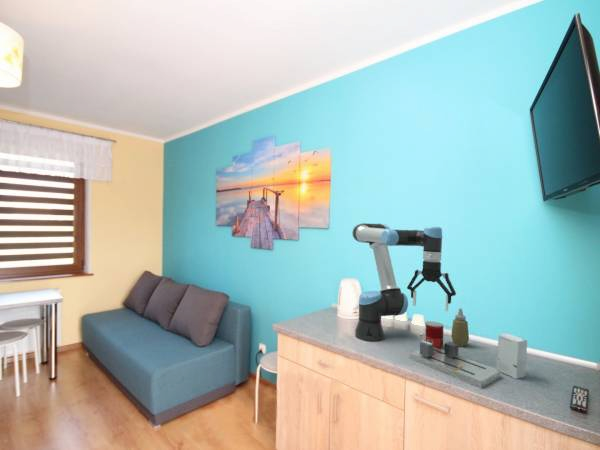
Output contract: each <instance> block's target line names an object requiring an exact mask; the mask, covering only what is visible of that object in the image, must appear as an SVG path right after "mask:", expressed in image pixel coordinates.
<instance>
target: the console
mask: <svg viewBox="0 0 600 450" xmlns="http://www.w3.org/2000/svg"><path fill="white" fill-rule="evenodd" d="M443 346H444V350H443V349H442V348H436V347H434V355H433V356H431V357H426V356H423V355H421V354H420V348H419V349H417V350H414V351H411V352H409V359H411V360H412V361H415V362H417V363H419V364H422V365H424V366H427V367H429V368H431V369H434V370H437V371H439V372H440V373H443V374H446V375H448V376H451V377H453V378H456V379H458V380H460V381H462V380H463V382H465V383H467V382H468V383H467V384H470V385H472V386H475V387H477V388H480V389H483V388H484V387H486V386H487V385H490V384H491V383H493V382H494V381H495V382H496V381H497V380H498V379H500V378H501V376H502V375H501V374H502V372H501V371H500V370H498V369H496V368H495V367H492V366H489V365H486V364H483V363H480V362H477V361H475V360H472V359H469V358H466V357H464V356H460V355H459V346H458V344H455V343H453V341H452V342H451V341H448V342H445V343H444V345H443Z"/></svg>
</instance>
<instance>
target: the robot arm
mask: <svg viewBox="0 0 600 450" xmlns="http://www.w3.org/2000/svg"><path fill="white" fill-rule="evenodd" d="M352 237H353V239H354V240H355V241H356V242H359V243H362V244H363V243H366V244H369V248H370V249H372V250H373V256H374V261H375V266H376V271H377V274H378V280H379V284H380V289H379V291H378V290H367V291H363V292H361V293H360V295H359V297H358V299H359V300H358V322H357V324H356V328H355V331H354V336H355V337H356V338H357V339H360V340H362V341H368V342H379V341H382V340H384V339H385V332H384V330H383V326H382V317H389V316H390V317H391V316H401V315H402V316H403V315H404V314H405V313H406V312H407V311H408V308H409V299H408V296H407V295H406V294H405V293H403V292H402V290H401V288H400V287H399V286H398V285H397V281H396V277H395V276H396V275H395V273H394V268H393V264H392V259H391V255H390V251H389V247H393V246H394V247H395V246H396V247H397V246H405V247H408V246H409V247H412V246H413V247H422V248H423V249H422V250H423V251H422V252H423V253H422V259H423V261H422V270H419V269H416V270H414V275H413V277H412V278H411V279H410V281H409V283H408V285H407V287H406V289H407V290H409V291H410V298H411V299H412V306H413V307H415V306H417V290H416V289H417V288H419V286H420V285H421V284H423V283H424V281H426V282H431V283H437V284H438V285H439V287H441V289H442V290H443V291H444V292H445V294H446V295H445V312H448V311H449V305H450V304H451V303H452V297H455V296H456V295H457V292H456V290H455V288H454V286H453V283H452V281H451V279H450V276H449V273H448V272H444V273H443V272H442V263H441V261H442V248H443V247H442V244H443V229H442V227H440V226H425V227H424V229H423V230H421V229H420V230H419V229H394V228H393V229H392V228H390V227H389V226H388V225H387V224H385V223H384V224H383V223H358V224H356V225H355V226H354V227H353V229H352ZM420 275H422V278H421V279H420V280H419V281H418V282H417V283H416V284H415V285H414V286H413V284H414V283H415V282H416V280H417V279H418V277H419V276H420ZM441 277H442V278H444V279H445V282H446V284H447V286H448V287H447V286H446V285H445V283H444V282H443V281H442V280H441ZM412 286H413V287H412Z"/></svg>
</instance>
